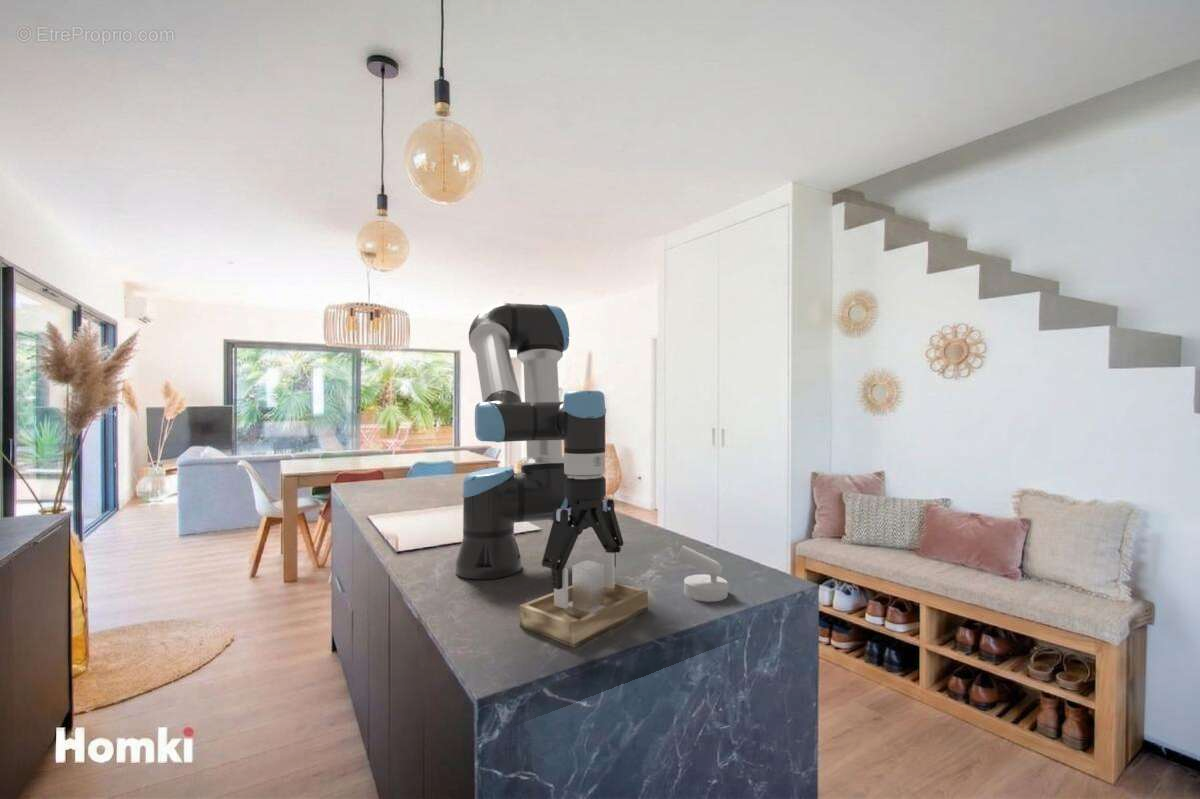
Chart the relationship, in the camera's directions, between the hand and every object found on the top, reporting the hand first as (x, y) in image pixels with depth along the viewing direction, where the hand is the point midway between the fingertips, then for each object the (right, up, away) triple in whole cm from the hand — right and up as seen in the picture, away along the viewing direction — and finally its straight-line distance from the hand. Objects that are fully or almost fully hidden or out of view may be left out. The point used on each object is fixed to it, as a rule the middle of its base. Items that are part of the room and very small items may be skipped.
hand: (585, 596), depth 95 cm
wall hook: (+23, -4, +12) cm, 26 cm away
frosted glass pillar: (0, -3, -1) cm, 3 cm away
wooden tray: (0, -4, 0) cm, 4 cm away
